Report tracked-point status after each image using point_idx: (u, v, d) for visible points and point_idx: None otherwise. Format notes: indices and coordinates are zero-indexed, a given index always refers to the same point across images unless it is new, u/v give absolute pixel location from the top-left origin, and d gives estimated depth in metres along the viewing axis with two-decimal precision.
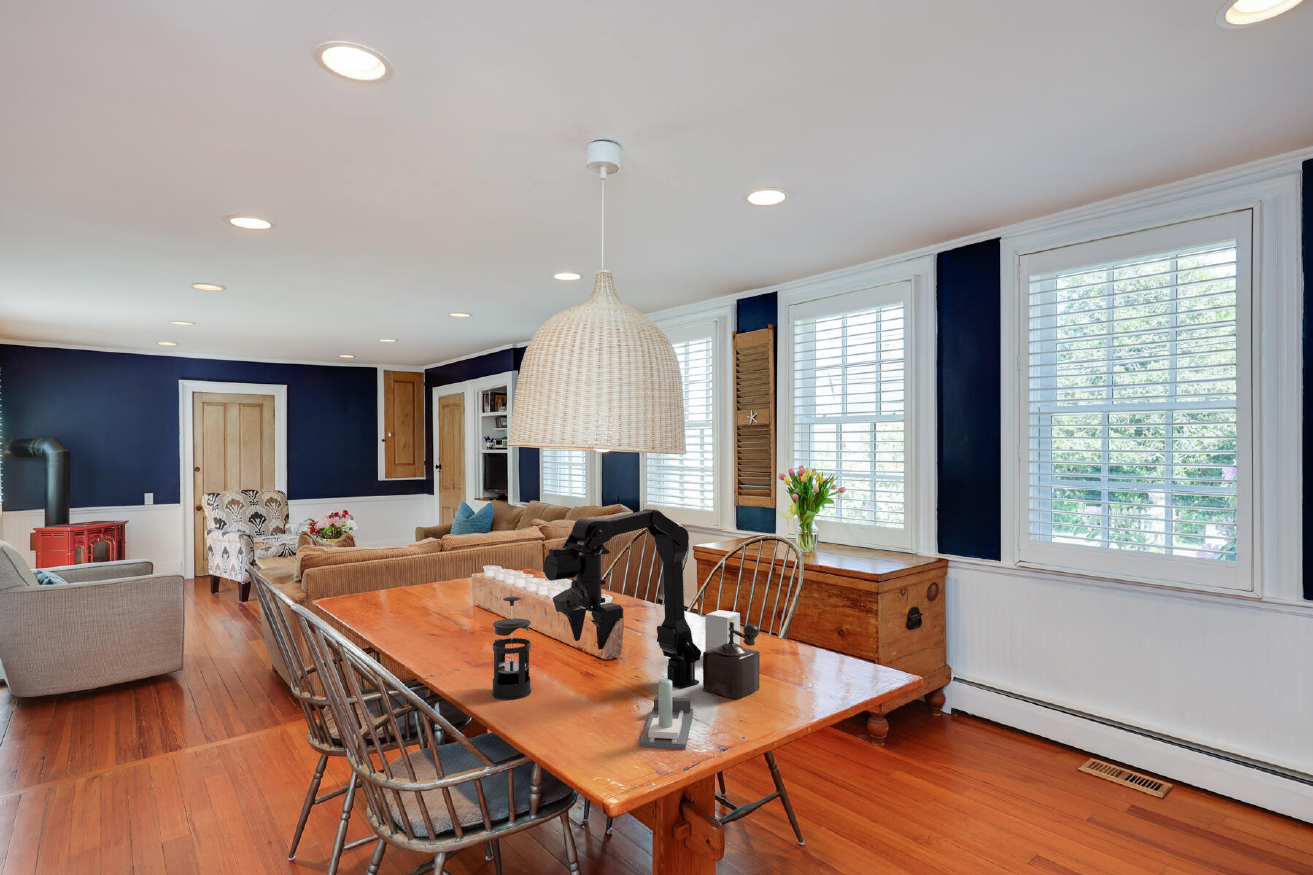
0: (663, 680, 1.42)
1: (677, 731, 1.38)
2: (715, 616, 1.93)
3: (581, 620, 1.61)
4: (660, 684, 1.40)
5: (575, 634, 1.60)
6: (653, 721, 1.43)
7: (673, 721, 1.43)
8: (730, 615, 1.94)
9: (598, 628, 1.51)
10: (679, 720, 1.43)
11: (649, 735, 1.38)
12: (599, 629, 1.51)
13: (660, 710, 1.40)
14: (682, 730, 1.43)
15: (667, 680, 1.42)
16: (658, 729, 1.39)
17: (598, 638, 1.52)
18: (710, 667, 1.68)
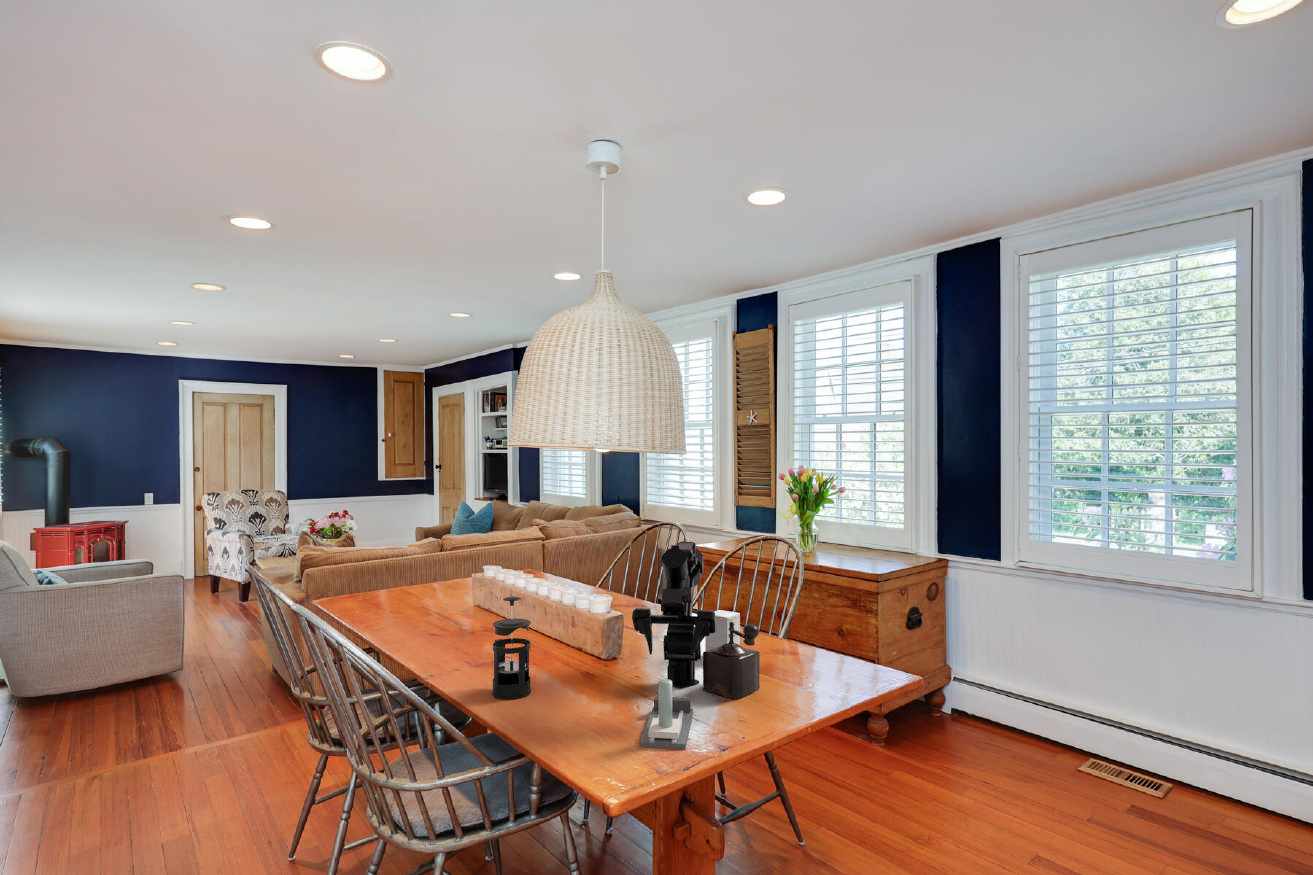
0: (663, 680, 1.42)
1: (677, 731, 1.38)
2: (715, 616, 1.93)
3: None
4: (660, 684, 1.40)
5: (651, 646, 1.53)
6: (653, 721, 1.43)
7: (673, 721, 1.43)
8: (730, 615, 1.94)
9: (698, 631, 1.54)
10: (679, 720, 1.43)
11: (649, 735, 1.38)
12: (699, 632, 1.54)
13: (660, 710, 1.40)
14: (682, 730, 1.43)
15: (667, 680, 1.42)
16: (658, 729, 1.39)
17: (695, 642, 1.53)
18: (710, 667, 1.68)
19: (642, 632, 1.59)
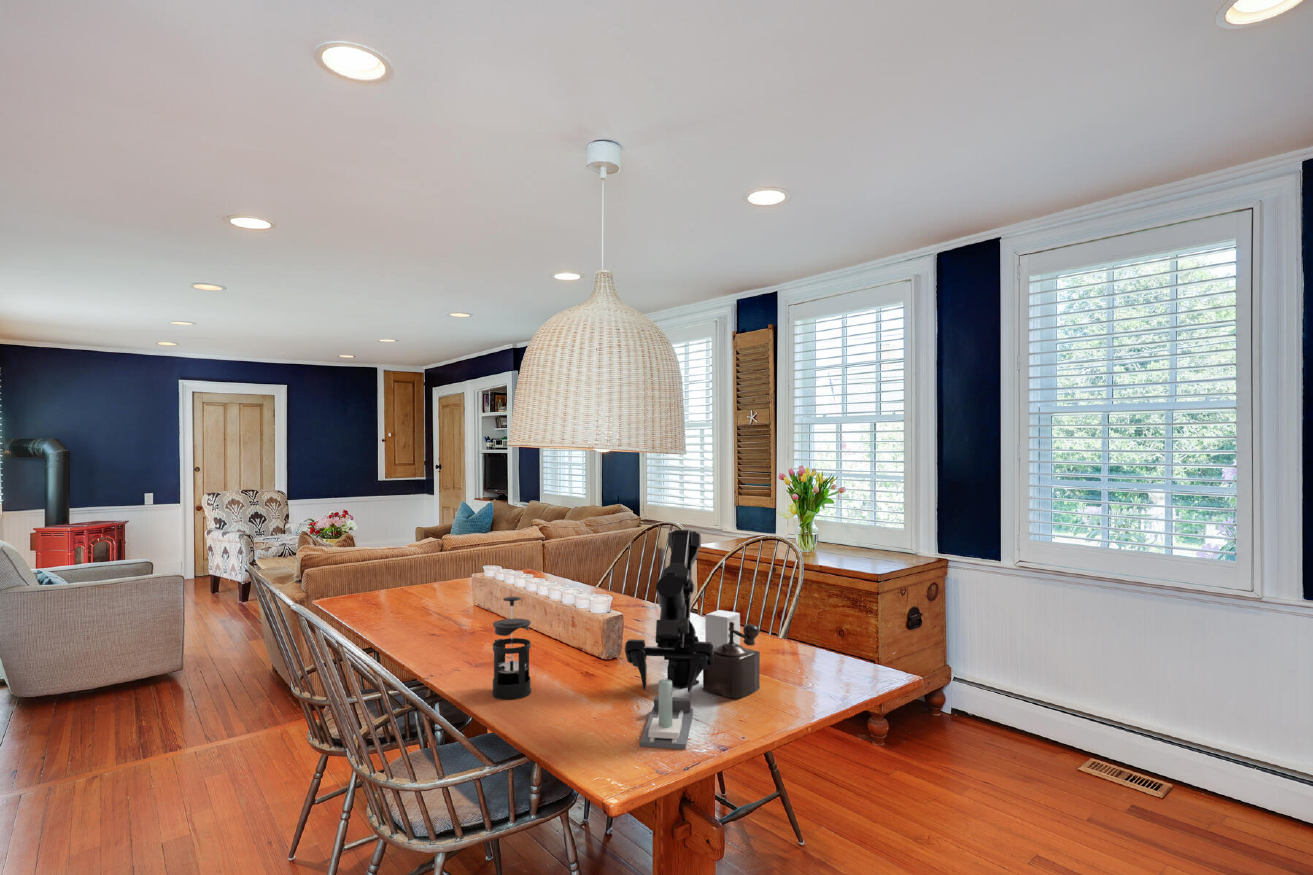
0: (663, 680, 1.42)
1: (677, 731, 1.38)
2: (715, 616, 1.93)
3: (646, 672, 1.47)
4: (660, 684, 1.40)
5: (645, 680, 1.44)
6: (653, 721, 1.43)
7: (673, 721, 1.43)
8: (730, 615, 1.94)
9: (695, 665, 1.45)
10: (679, 720, 1.43)
11: (649, 735, 1.38)
12: (696, 666, 1.45)
13: (660, 710, 1.40)
14: (682, 730, 1.43)
15: (667, 680, 1.42)
16: (658, 729, 1.39)
17: (691, 676, 1.43)
18: (710, 667, 1.68)
19: (636, 665, 1.50)
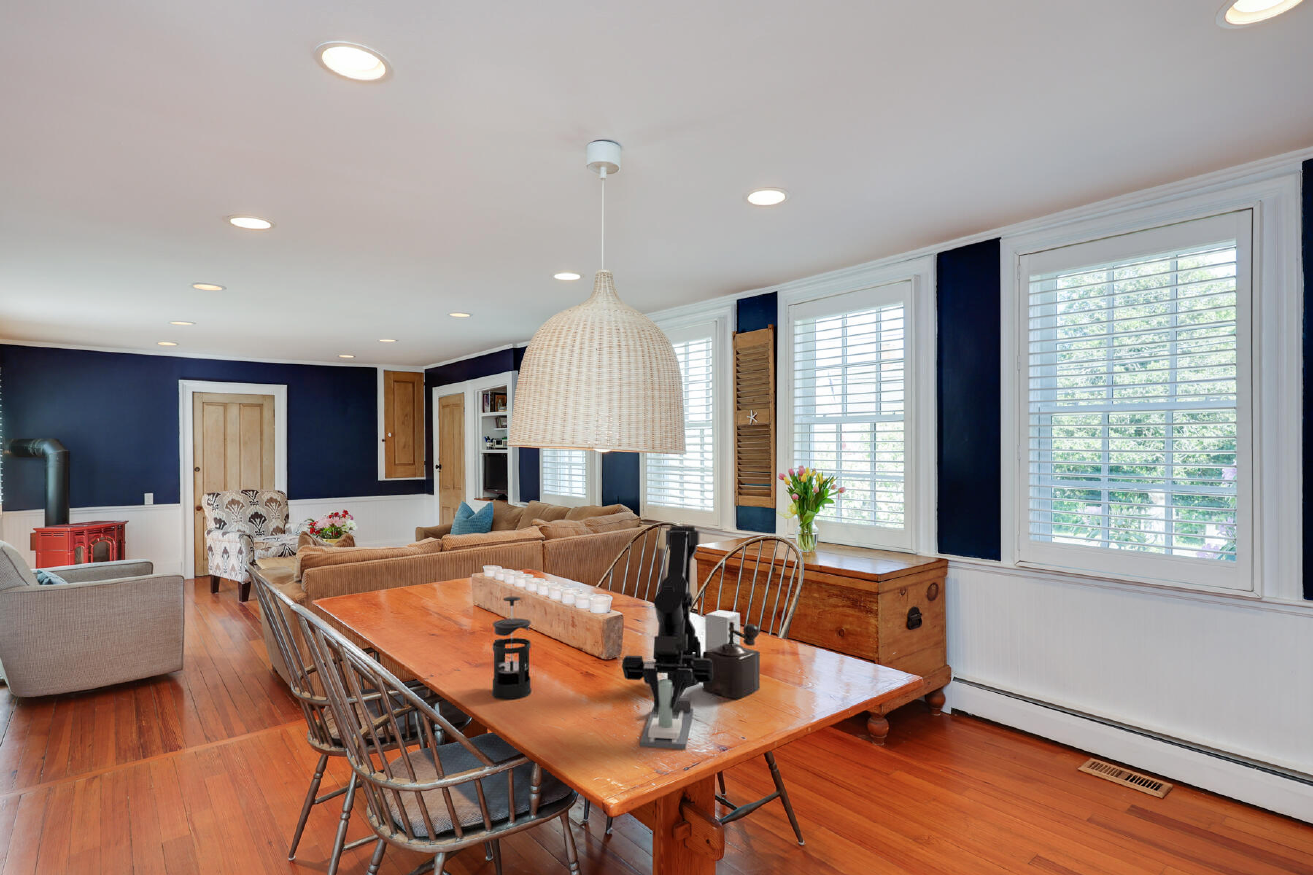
0: (663, 680, 1.42)
1: (677, 731, 1.38)
2: (715, 616, 1.93)
3: (658, 690, 1.44)
4: (660, 684, 1.40)
5: (657, 699, 1.41)
6: (653, 721, 1.43)
7: (673, 721, 1.43)
8: (730, 615, 1.94)
9: (679, 681, 1.42)
10: (679, 720, 1.43)
11: (649, 735, 1.38)
12: (680, 682, 1.42)
13: (660, 710, 1.40)
14: (682, 730, 1.43)
15: (667, 680, 1.42)
16: (658, 729, 1.39)
17: (675, 693, 1.41)
18: None
19: (647, 682, 1.46)
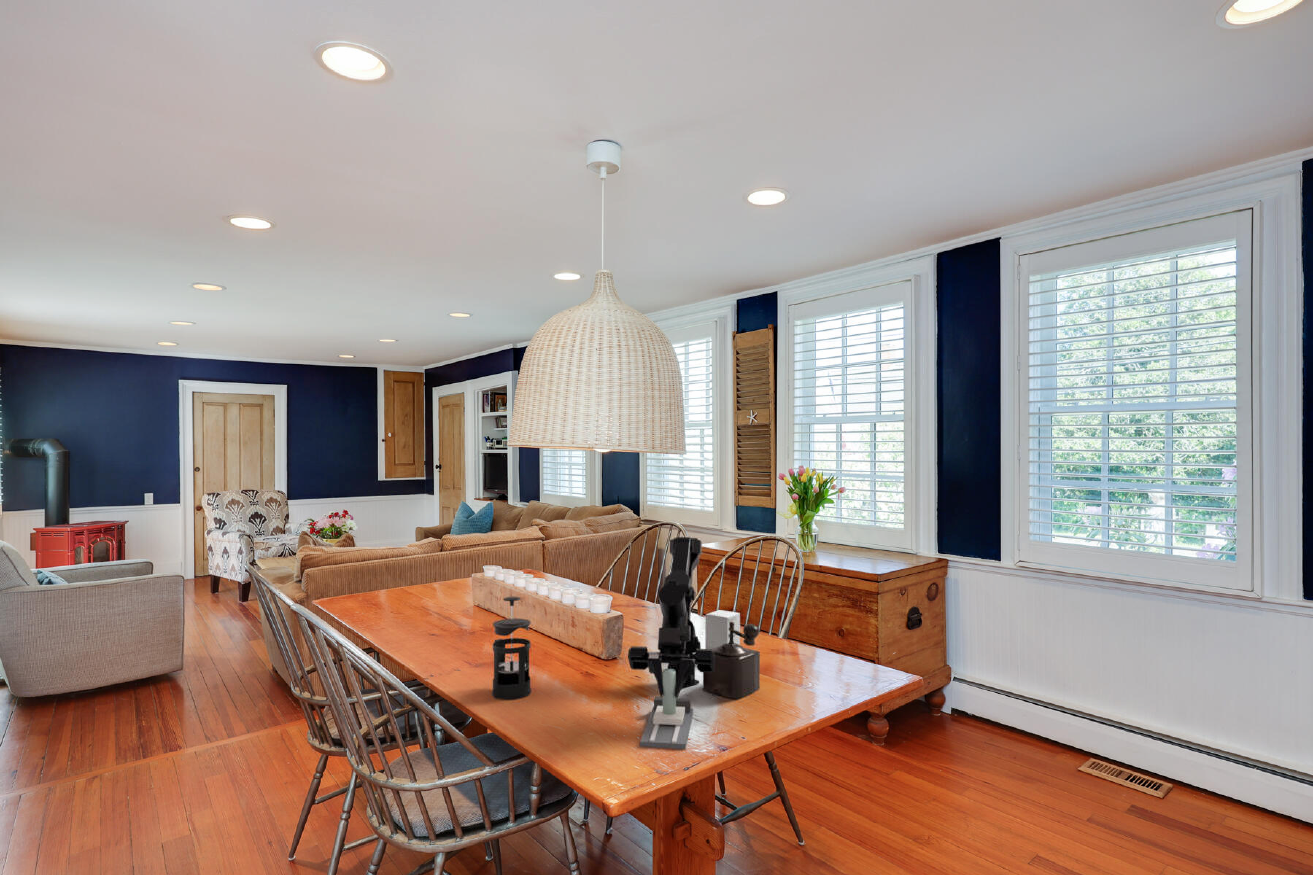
0: (667, 669, 1.49)
1: (680, 718, 1.45)
2: (715, 616, 1.93)
3: (662, 679, 1.51)
4: (664, 673, 1.47)
5: (662, 687, 1.47)
6: (657, 709, 1.50)
7: (676, 709, 1.50)
8: (730, 615, 1.94)
9: (682, 671, 1.49)
10: (682, 708, 1.50)
11: (654, 721, 1.45)
12: (684, 672, 1.49)
13: (664, 698, 1.47)
14: (682, 730, 1.43)
15: (671, 669, 1.49)
16: (662, 716, 1.46)
17: (679, 682, 1.48)
18: None
19: (652, 672, 1.53)
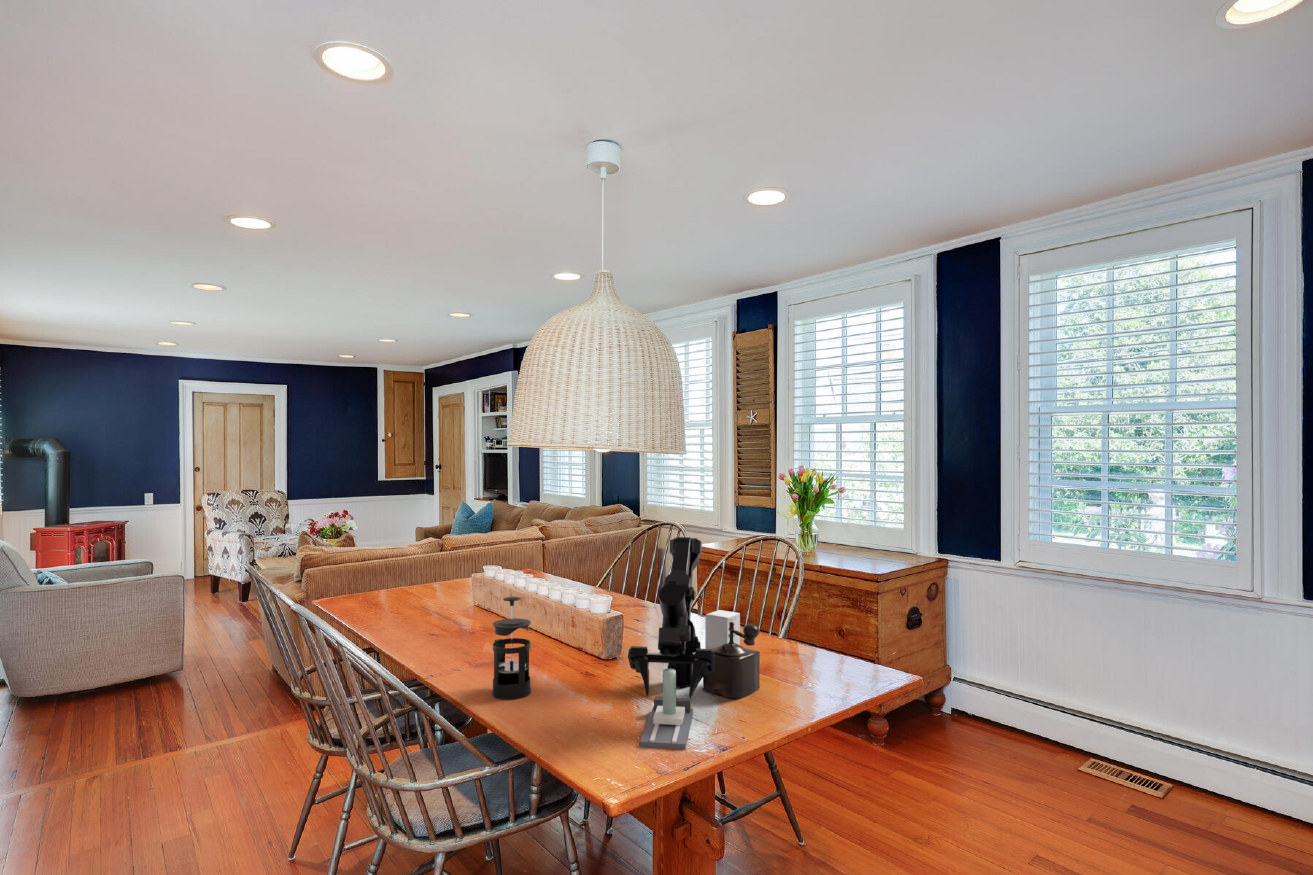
0: (667, 669, 1.49)
1: (680, 718, 1.45)
2: (715, 616, 1.93)
3: (648, 678, 1.51)
4: (664, 673, 1.47)
5: (648, 687, 1.48)
6: (657, 709, 1.50)
7: (677, 709, 1.50)
8: (730, 615, 1.94)
9: (696, 671, 1.48)
10: (682, 708, 1.50)
11: (654, 721, 1.45)
12: (698, 672, 1.48)
13: (664, 698, 1.47)
14: (682, 730, 1.43)
15: (671, 669, 1.49)
16: (662, 716, 1.46)
17: (693, 683, 1.47)
18: None
19: (638, 671, 1.54)
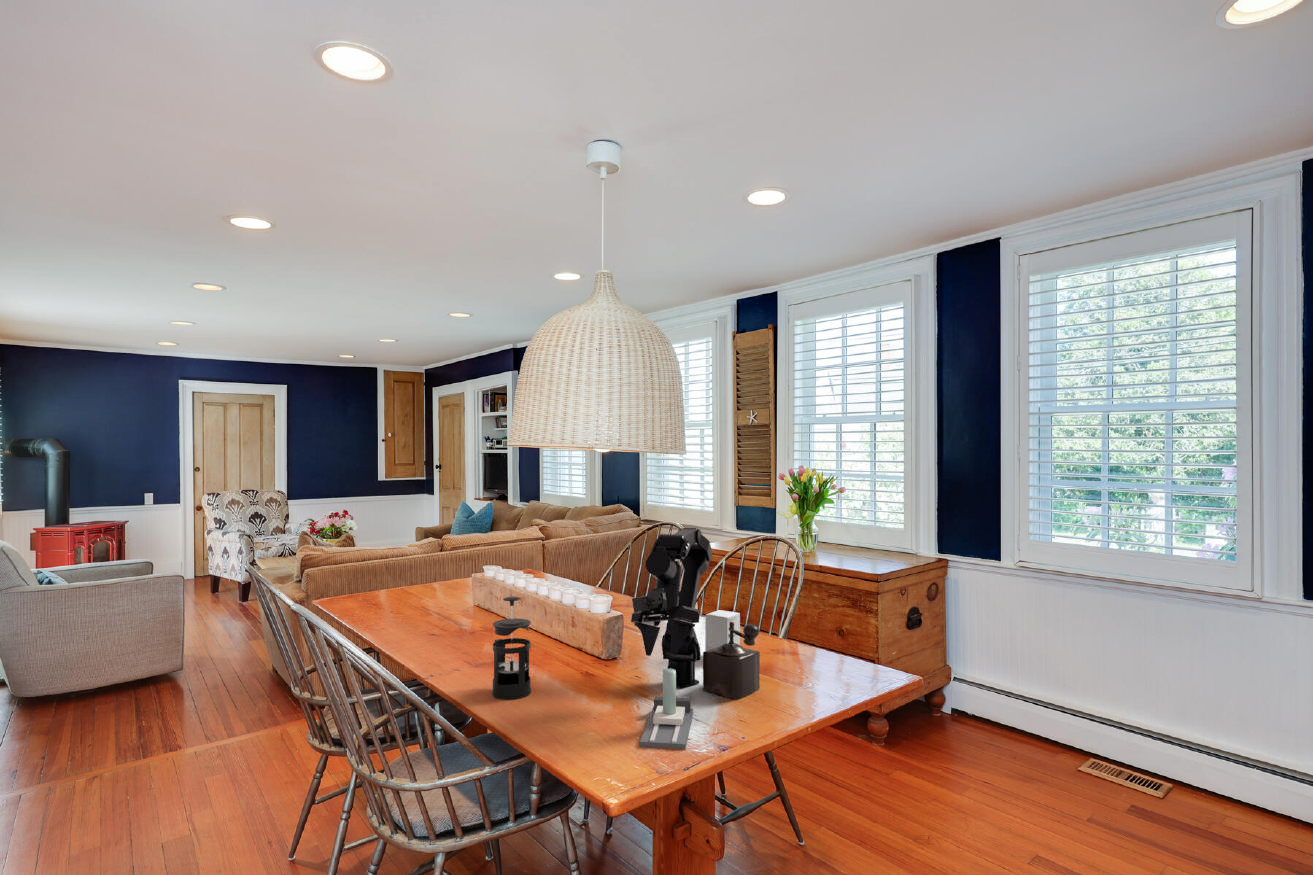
0: (667, 669, 1.49)
1: (680, 718, 1.45)
2: (715, 616, 1.93)
3: (654, 637, 1.63)
4: (664, 673, 1.47)
5: (647, 648, 1.60)
6: (657, 709, 1.50)
7: (677, 709, 1.50)
8: (730, 615, 1.94)
9: (673, 630, 1.54)
10: (682, 708, 1.50)
11: (654, 721, 1.45)
12: (674, 630, 1.53)
13: (664, 698, 1.47)
14: (682, 730, 1.43)
15: (671, 669, 1.49)
16: (662, 716, 1.46)
17: (672, 641, 1.53)
18: (710, 667, 1.68)
19: None
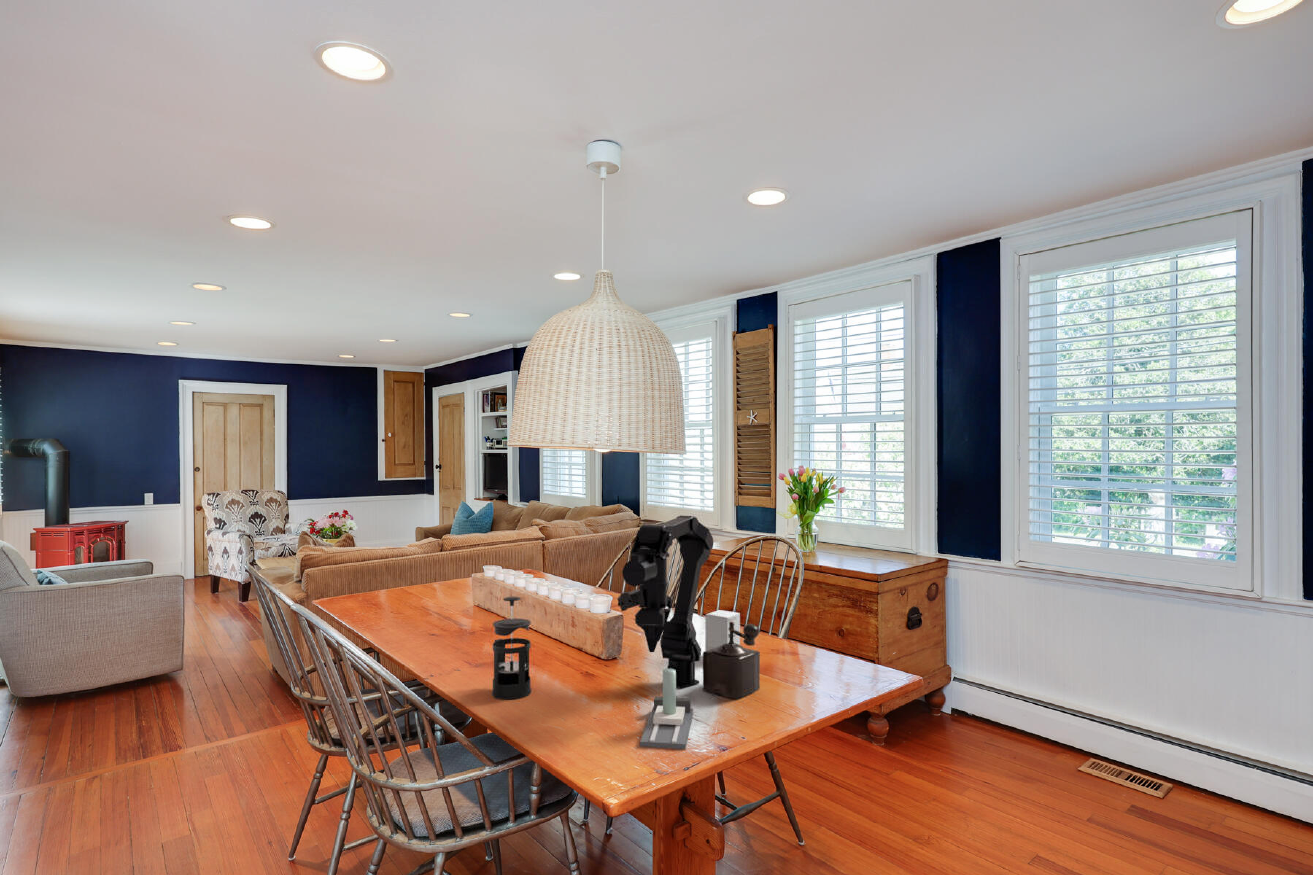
0: (667, 669, 1.49)
1: (680, 718, 1.45)
2: (715, 616, 1.93)
3: None
4: (664, 673, 1.47)
5: None
6: (657, 709, 1.50)
7: (677, 709, 1.50)
8: (730, 615, 1.94)
9: None
10: (682, 708, 1.50)
11: (654, 721, 1.45)
12: None
13: (664, 698, 1.47)
14: (682, 730, 1.43)
15: (671, 669, 1.49)
16: (662, 716, 1.46)
17: None
18: (710, 667, 1.68)
19: None
